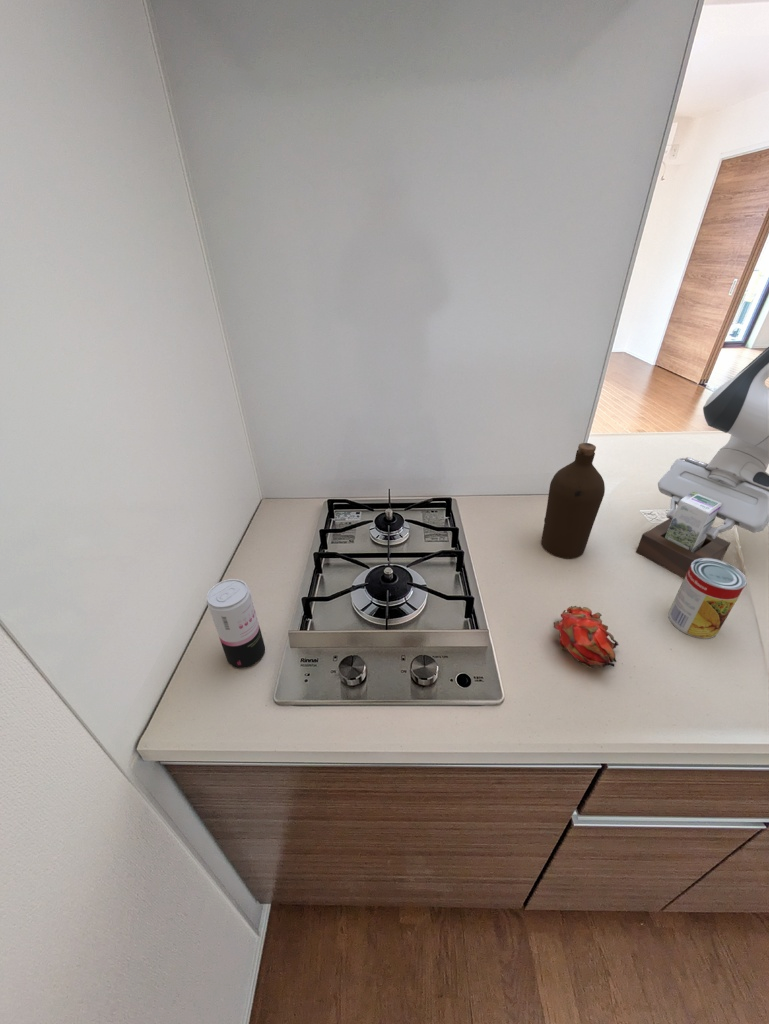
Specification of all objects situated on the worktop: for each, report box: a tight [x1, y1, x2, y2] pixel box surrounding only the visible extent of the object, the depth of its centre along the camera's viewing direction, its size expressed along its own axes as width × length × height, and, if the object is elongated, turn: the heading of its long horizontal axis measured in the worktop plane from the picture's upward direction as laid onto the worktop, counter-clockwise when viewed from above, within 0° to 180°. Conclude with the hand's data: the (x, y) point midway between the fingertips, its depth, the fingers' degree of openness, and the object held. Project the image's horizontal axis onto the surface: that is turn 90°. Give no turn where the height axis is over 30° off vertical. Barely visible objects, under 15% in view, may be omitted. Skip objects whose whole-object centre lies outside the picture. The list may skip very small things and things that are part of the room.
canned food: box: [667, 558, 748, 639], centre depth 77 cm, size 8×8×12 cm
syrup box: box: [665, 492, 722, 553], centre depth 91 cm, size 6×6×14 cm
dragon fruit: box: [553, 605, 620, 669], centre depth 73 cm, size 8×8×12 cm
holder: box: [635, 518, 731, 579], centre depth 94 cm, size 12×12×5 cm
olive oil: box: [540, 442, 606, 559], centre depth 93 cm, size 11×11×25 cm
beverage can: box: [206, 578, 266, 669], centre depth 73 cm, size 7×6×15 cm
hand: (689, 527), depth 91 cm, fingers open, 7 cm apart
